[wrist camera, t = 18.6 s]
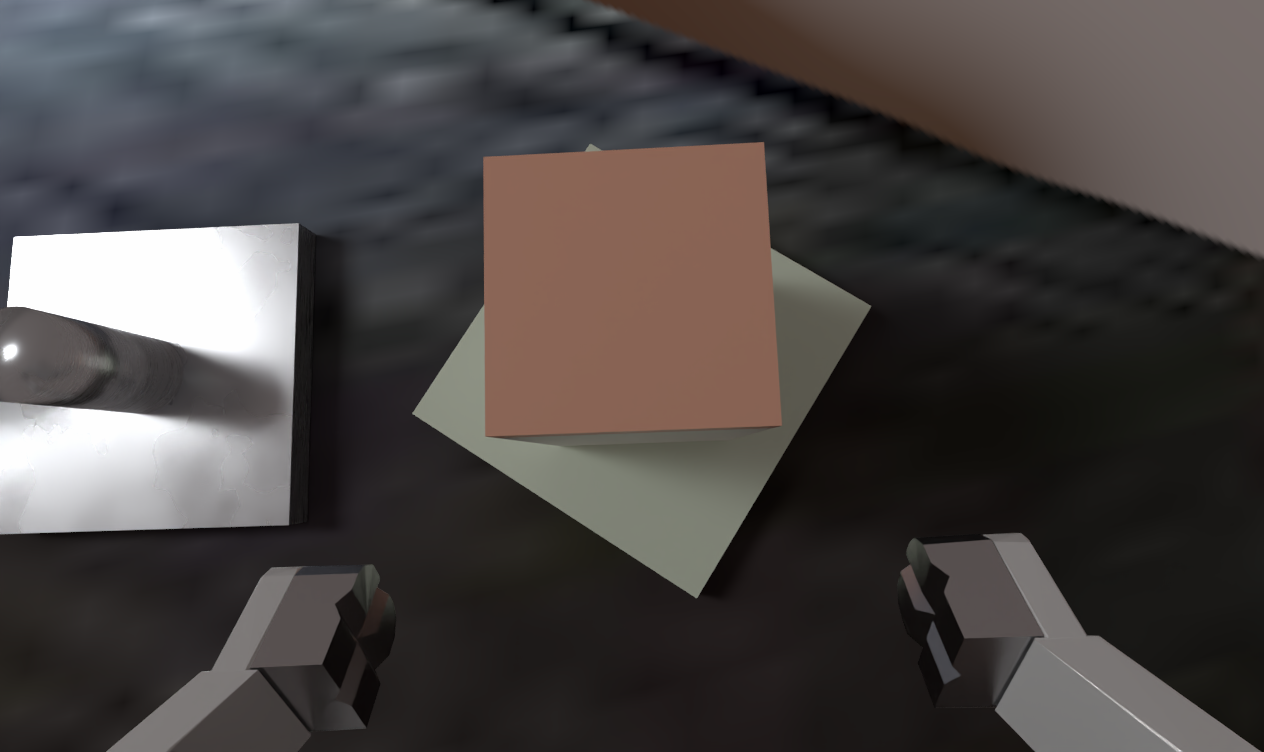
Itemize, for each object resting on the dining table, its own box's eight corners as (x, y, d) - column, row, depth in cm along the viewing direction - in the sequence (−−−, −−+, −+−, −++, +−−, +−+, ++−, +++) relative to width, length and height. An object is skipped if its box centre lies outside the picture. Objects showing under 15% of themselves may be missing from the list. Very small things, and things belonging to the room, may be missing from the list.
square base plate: (307, 521, 24) (186, 543, 18) (19, 530, 24) (-196, 554, 18) (315, 234, 25) (205, 162, 19) (43, 247, 26) (-149, 181, 20)
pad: (695, 593, 23) (697, 598, 22) (420, 415, 24) (412, 413, 24) (864, 311, 24) (871, 306, 23) (592, 153, 25) (590, 143, 25)
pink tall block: (729, 440, 23) (782, 425, 13) (559, 446, 23) (485, 436, 13) (720, 274, 24) (763, 142, 14) (556, 282, 24) (483, 156, 14)
